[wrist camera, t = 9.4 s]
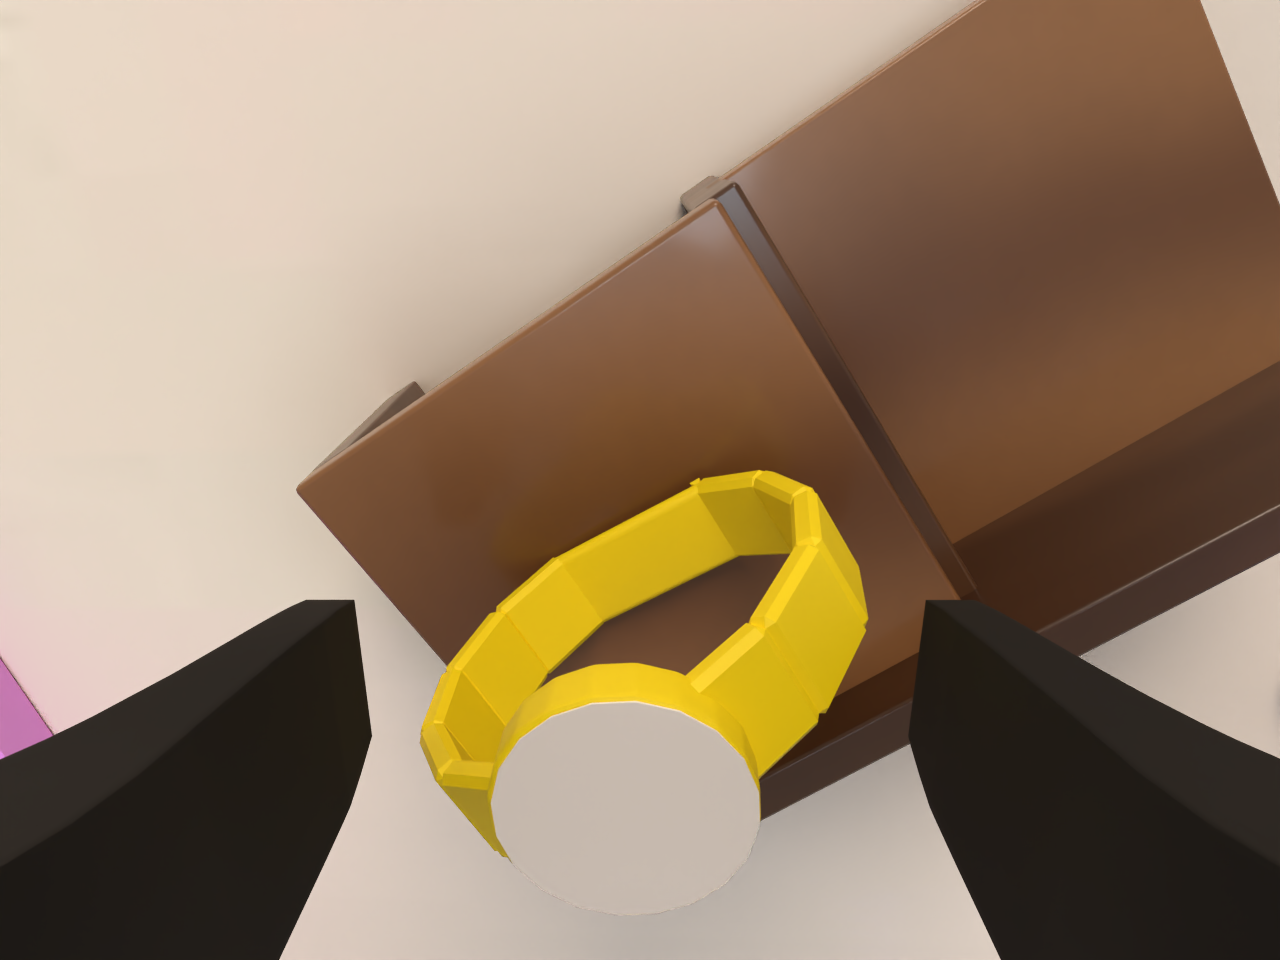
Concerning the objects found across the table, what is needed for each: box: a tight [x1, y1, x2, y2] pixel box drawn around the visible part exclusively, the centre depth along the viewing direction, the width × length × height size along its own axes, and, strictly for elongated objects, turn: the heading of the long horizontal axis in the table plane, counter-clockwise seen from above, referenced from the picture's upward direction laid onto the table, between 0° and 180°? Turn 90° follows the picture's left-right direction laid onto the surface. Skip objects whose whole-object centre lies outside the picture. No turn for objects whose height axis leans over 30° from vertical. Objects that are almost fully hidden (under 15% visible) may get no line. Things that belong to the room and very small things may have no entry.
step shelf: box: [296, 0, 1280, 820], centre depth 16 cm, size 9×16×6 cm, turn 124°
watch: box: [420, 470, 868, 915], centre depth 11 cm, size 6×3×6 cm, turn 121°
